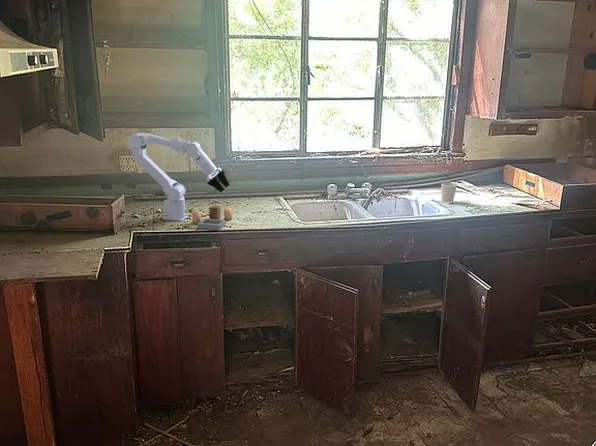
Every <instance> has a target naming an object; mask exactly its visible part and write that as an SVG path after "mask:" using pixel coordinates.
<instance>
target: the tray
mask: <svg viewBox="0 0 596 446" xmlns="http://www.w3.org/2000/svg"><path fill="white" fill-rule="evenodd" d="M224 227H226V220H224V219H219V220H215V219H209V218H203V219H202V220H200V222H199V223H198V224H197V229H201V230H209V231H210V230H212V231H220V230H222V229H223V228H224Z"/></svg>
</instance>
